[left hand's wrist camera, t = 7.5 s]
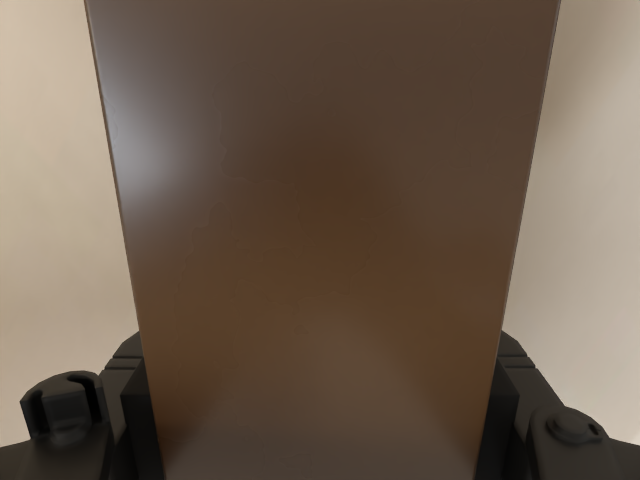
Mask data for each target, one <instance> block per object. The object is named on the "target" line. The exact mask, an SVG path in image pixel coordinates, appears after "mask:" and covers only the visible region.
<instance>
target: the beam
mask: <svg viewBox="0 0 640 480" xmlns="http://www.w3.org/2000/svg"><path fill="white" fill-rule="evenodd" d="M560 3H561V0H84V5H85V11H86V16H87V22H88V28H89V34H90V40H91V46H92V52H93V58H94V64H95V70H96V76H97V82H98V88H99V94H100V100H101V106H102V111H103V117H104V123H105V129H106V135H107V141H108V147H109V153H110V159H111V165H112V171H113V177H114V183H115V189H116V195H117V201H118V207H119V212H120V218H121V224H122V230H123V236H124V242H125V248H126V254H127V260H128V266H129V272H130V278H131V284H132V290H133V296H134V302H135V307H136V313H137V319H138V325H139V331H140V337H141V343H142V349H143V355H144V361H145V367H146V373H147V379H148V385H149V391H150V397H151V403H152V408H153V414H154V420H155V426H156V432H157V438H158V444H159V450H160V456H161V462H162V468H163V474H164V480H474V479H475V473H476V468H477V462H478V457H479V451H480V446H481V440H482V435H483V429H484V424H485V418H486V413H487V407H488V401H489V396H490V390H491V385H492V379H493V374H494V368H495V363H496V357H497V352H498V346H499V341H500V335H501V330H502V324H503V318H504V313H505V307H506V302H507V296H508V291H509V285H510V280H511V274H512V269H513V263H514V258H515V252H516V247H517V241H518V235H519V230H520V224H521V219H522V213H523V208H524V202H525V197H526V191H527V186H528V180H529V175H530V169H531V164H532V158H533V152H534V147H535V141H536V136H537V130H538V125H539V119H540V114H541V108H542V103H543V97H544V92H545V86H546V80H547V75H548V69H549V64H550V58H551V53H552V47H553V42H554V36H555V31H556V25H557V20H558V14H559V9H560Z"/></svg>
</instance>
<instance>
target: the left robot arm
mask: <svg viewBox="0 0 640 480" xmlns="http://www.w3.org/2000/svg"><path fill="white" fill-rule="evenodd" d="M20 405H21V408H22V411H23V414H24V418H25V421H26V424H27V427H28V431H29V434H30V437H31V439H30V440H28V441H25V442H21V443H17V444H13V445H9V446H4V447H0V480H164V474H163V468H162V462H161V456H160V450H159V444H158V438H157V432H156V426H155V420H154V414H153V408H152V403H151V397H150V391H149V385H148V379H147V373H146V367H145V361H144V355H143V349H142V343H141V337H140V331H138V332H137V333H136V334H134V335H133V336H131V337H130V338H128V339H127V340H126V341H124V342H123V343H122V344H121V345H120V347H119V348H118V350H117V351H116V352H115V354H114V355H113V358H112V359H110V361H109V362H108V363H107V365H106V366H105V370H102V372H101V373H100V374H99V376H98V375H97V374H95V373H93V372H88V371H70V372H66V373H62V374H58V375H54V376H52V377H50V378H48V379H46V380H44V381H42V382H40V383H38V384H37V385H35V386H34V387H33V388H31V389H30V390H29V391H27V393H26V394H25V395H24V396H23V398H22V399H21V400H20ZM474 480H640V446H639V445H635V444H631V443H626V442H622V441H618V440H615V439H612V438H609V436H608V435H607V433H606V432H605V430H604V429H603V427H602V426H601V425H599V424H598V423H597V422H596V421H595V420H593V419H592V418H591V417H589V416H587V415H586V414H584V413H582V412H580V411H578V410H576V409H572V408H569V407H566V406H564V404H563V403H562V402H561V400H560V399H559V397H558V396H557V395H556V393H555V392H554V391H553V389H552V388H551V386H550V385H549V384H548V382H547V381H546V380H545V378H544V377H543V375H542V374H541V373H540V371H539V370H538V369H537V368H535V365H534V363H533V362H532V360H531V359H530V358H529V357H527V354H526V352H525V351H524V349H523V348H522V347H521V345H520V344H519V343H518V341H516V340H515V339H514V338H512V337H511V336H509V335H508V334H506V333H505V332H504V331H502V330H501V335H500V341H499V346H498V352H497V357H496V363H495V368H494V374H493V379H492V385H491V390H490V396H489V401H488V407H487V413H486V418H485V424H484V429H483V435H482V440H481V446H480V451H479V457H478V462H477V468H476V473H475V479H474Z"/></svg>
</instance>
